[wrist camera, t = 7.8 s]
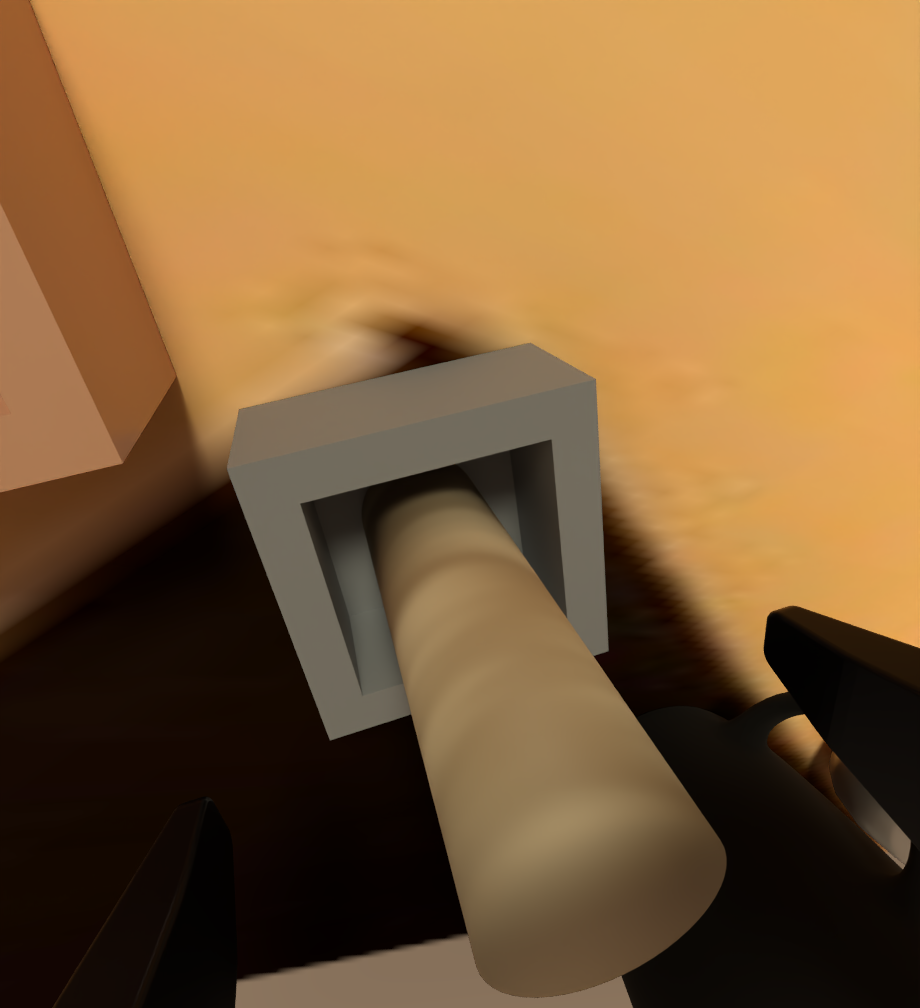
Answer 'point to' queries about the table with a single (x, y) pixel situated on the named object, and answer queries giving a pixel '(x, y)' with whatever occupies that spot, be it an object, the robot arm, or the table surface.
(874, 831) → the plastic bottle
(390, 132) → the table surface
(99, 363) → the square box
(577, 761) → the dowel
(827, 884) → the mug
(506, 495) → the socket block
